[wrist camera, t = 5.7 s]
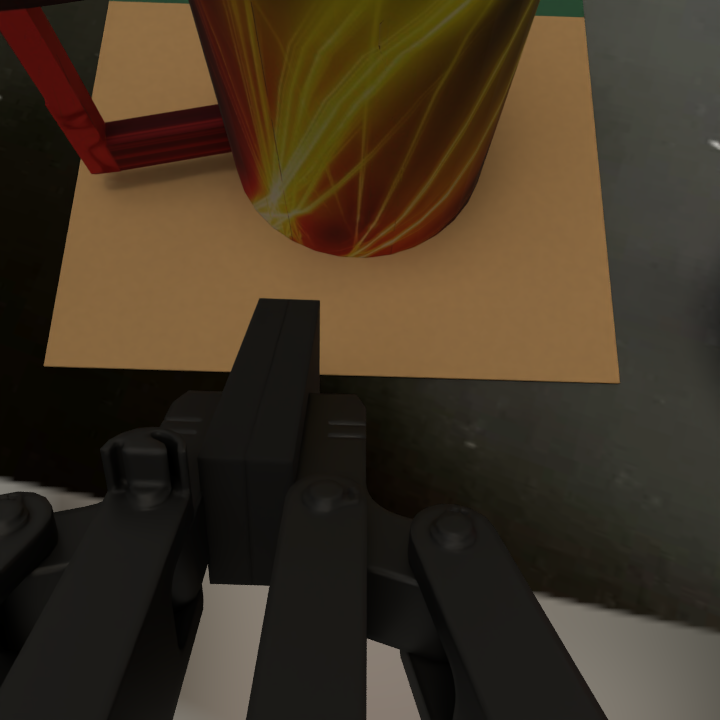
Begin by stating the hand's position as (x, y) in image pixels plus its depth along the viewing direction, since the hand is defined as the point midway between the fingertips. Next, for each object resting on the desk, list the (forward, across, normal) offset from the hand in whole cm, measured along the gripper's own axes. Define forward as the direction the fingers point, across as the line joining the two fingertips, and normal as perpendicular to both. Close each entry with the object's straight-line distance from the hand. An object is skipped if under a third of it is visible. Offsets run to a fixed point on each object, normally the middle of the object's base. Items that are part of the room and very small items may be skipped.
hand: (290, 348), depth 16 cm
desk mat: (+16, +1, +8) cm, 18 cm away
